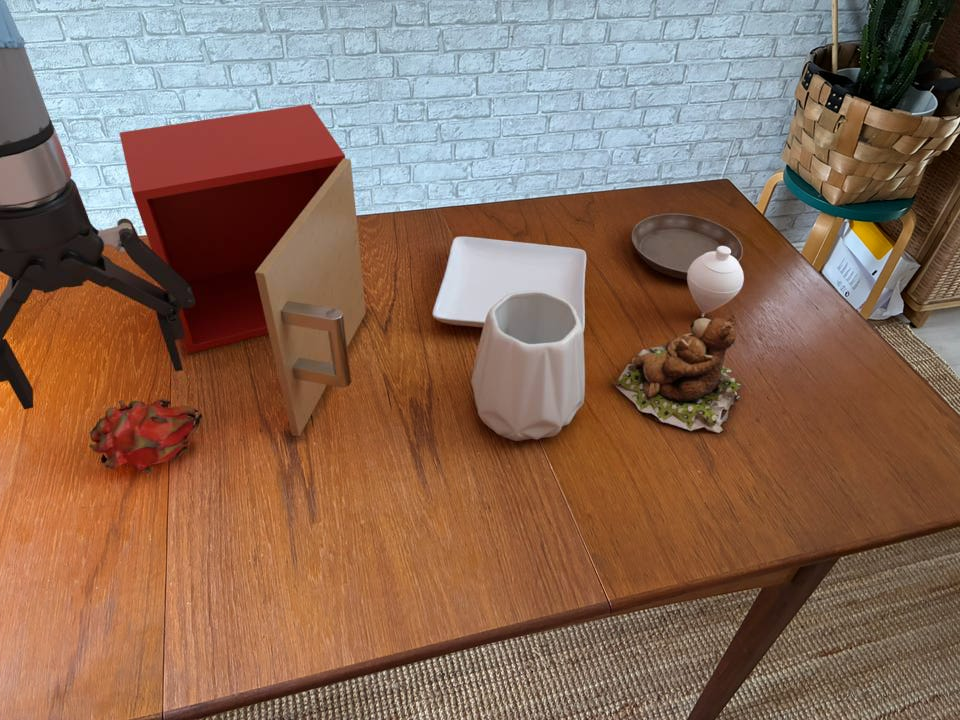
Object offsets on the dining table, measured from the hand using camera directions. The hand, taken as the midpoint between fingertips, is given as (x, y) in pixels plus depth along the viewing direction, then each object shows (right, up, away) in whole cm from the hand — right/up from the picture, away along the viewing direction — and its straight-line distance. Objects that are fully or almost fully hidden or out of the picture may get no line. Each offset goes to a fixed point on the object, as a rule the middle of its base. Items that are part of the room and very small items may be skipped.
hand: (105, 380), depth 70 cm
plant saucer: (+71, +19, +46) cm, 86 cm away
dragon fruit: (0, -9, +12) cm, 15 cm away
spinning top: (+70, +8, +34) cm, 79 cm away
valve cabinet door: (+21, 0, +23) cm, 31 cm away
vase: (+43, -4, +19) cm, 47 cm away
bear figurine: (+63, -2, +23) cm, 67 cm away
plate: (+42, +11, +36) cm, 57 cm away
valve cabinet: (+6, +11, +34) cm, 36 cm away
